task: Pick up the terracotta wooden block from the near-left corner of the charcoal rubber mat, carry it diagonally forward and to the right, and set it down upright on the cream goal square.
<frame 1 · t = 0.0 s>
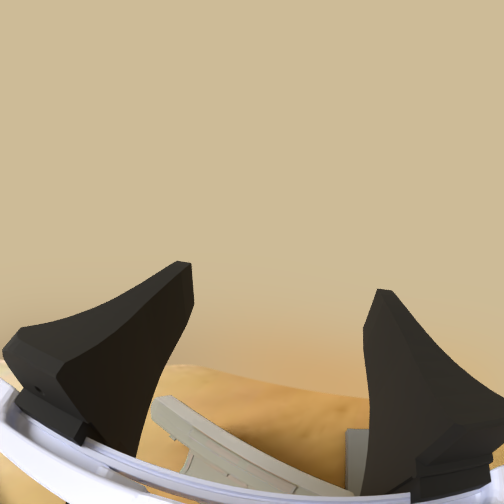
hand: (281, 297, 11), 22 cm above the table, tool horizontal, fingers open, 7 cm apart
digital clock: (248, 488, 21), on the table
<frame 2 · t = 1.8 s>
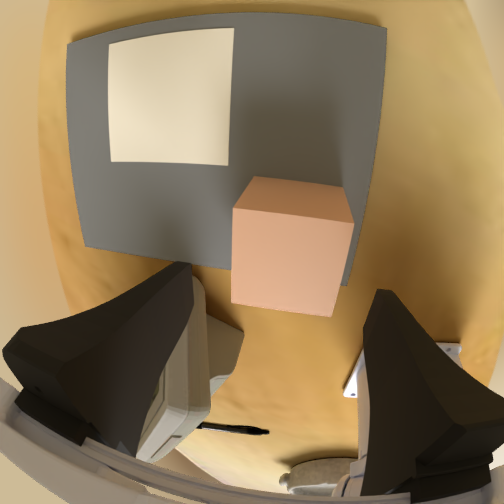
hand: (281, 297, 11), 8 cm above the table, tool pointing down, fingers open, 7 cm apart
digital clock: (184, 337, 26), on the table
mat: (199, 144, 17), on the table
block: (294, 221, 18), point 1 cm above the table, touching mat
dish: (329, 467, 38), on the table
pen: (216, 421, 34), on the table
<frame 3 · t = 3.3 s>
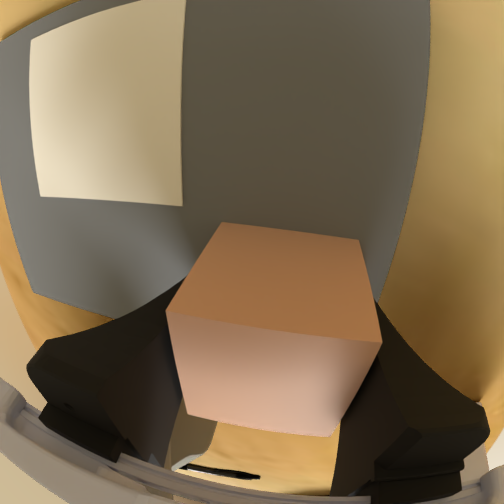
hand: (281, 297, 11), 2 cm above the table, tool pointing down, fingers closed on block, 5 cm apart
digital clock: (156, 392, 20), on the table
mat: (145, 171, 11), on the table
block: (283, 287, 12), point 1 cm above the table, touching gripper, mat
pen: (202, 463, 28), on the table
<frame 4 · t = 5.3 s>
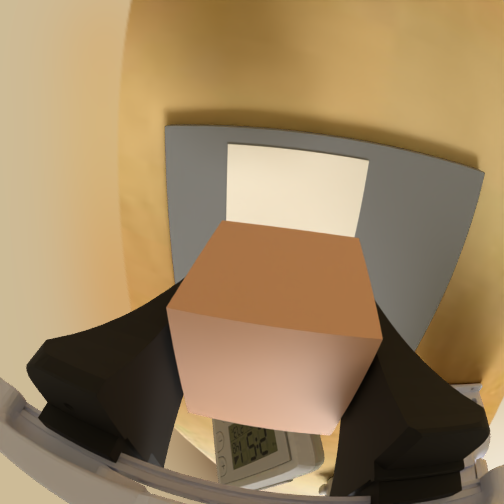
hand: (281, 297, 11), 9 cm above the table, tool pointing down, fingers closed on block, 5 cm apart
digital clock: (264, 389, 29), on the table
mat: (317, 256, 20), on the table
block: (283, 285, 12), point 8 cm above the table, touching gripper
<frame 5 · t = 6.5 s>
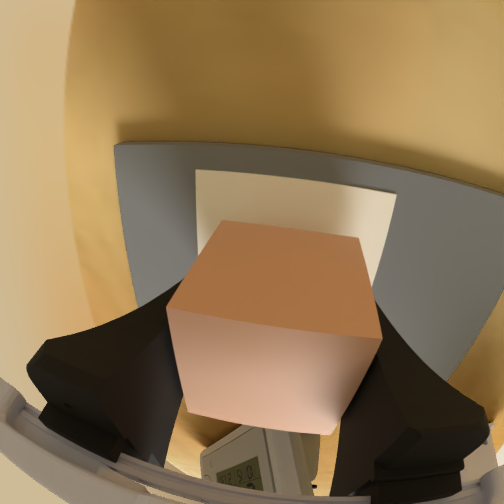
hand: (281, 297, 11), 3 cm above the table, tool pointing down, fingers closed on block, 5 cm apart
digital clock: (256, 434, 24), on the table
mat: (319, 312, 15), on the table
block: (283, 285, 12), point 2 cm above the table, touching gripper
when the fingers open (3 cm above the table, at t = 7.3 s): block drops 1 cm, resting on mat.
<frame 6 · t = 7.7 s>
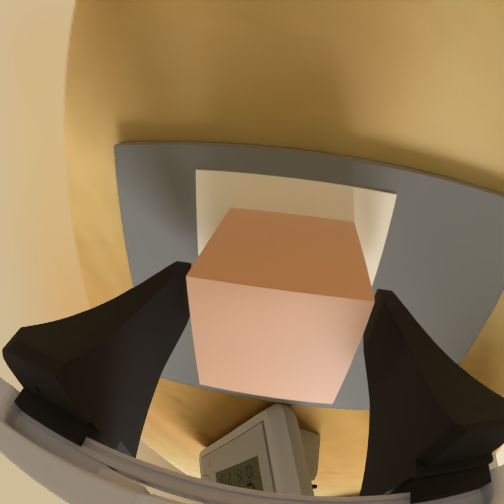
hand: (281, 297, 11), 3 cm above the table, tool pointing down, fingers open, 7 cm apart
digital clock: (256, 434, 24), on the table
mat: (319, 312, 15), on the table
block: (286, 267, 13), point 1 cm above the table, touching mat
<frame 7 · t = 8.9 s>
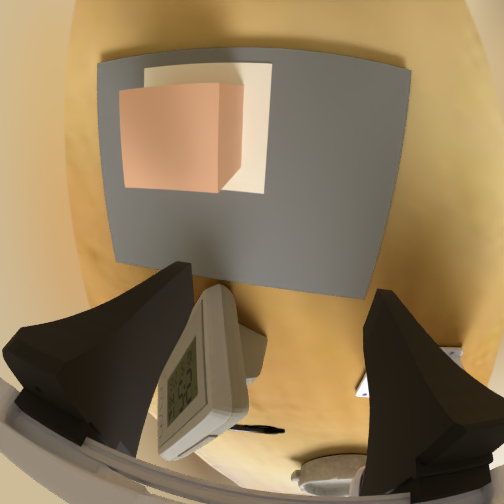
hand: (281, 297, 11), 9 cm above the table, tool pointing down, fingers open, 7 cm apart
digital clock: (208, 341, 28), on the table
mat: (235, 171, 19), on the table
block: (201, 125, 17), point 1 cm above the table, touching mat
dish: (337, 464, 40), on the table
pen: (233, 422, 36), on the table
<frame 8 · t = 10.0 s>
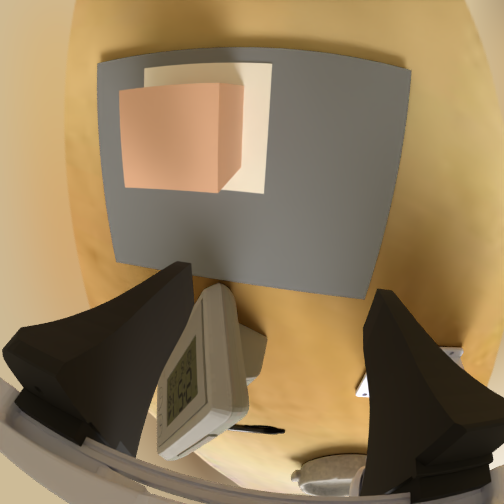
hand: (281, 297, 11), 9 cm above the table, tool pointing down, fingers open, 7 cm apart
digital clock: (208, 341, 28), on the table
mat: (235, 171, 19), on the table
block: (201, 125, 17), point 1 cm above the table, touching mat
dish: (337, 464, 40), on the table
pen: (233, 422, 36), on the table
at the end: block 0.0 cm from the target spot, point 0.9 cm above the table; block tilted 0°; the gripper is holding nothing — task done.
